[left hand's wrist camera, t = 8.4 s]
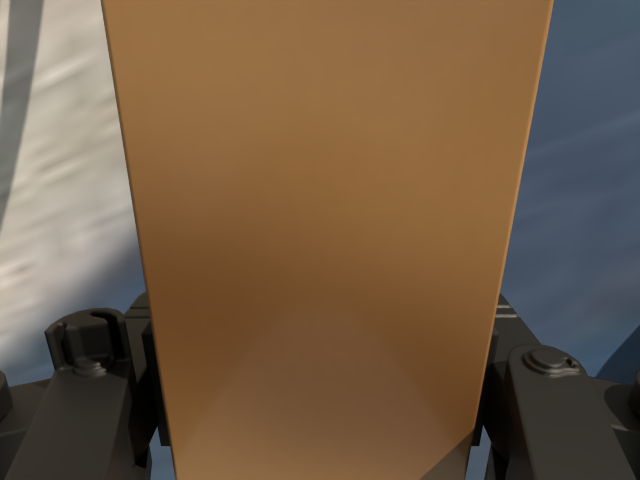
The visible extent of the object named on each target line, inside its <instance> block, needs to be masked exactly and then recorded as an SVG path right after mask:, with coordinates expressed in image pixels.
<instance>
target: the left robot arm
mask: <svg viewBox="0 0 640 480" xmlns="http://www.w3.org/2000/svg"><path fill="white" fill-rule="evenodd" d="M44 333H45V336H46V340H47V344H48V347H49V351H50V354H51V358H52V362H53V365H54V369H55V371H54V374H53V376H52V378H50V379H46V380H42V381H37V382H32V383H27V384H22V385H17V386H12V387H9V386H8V383H7V380H6V377H5V374H4V373H3V372H1V371H0V480H150V477H151V468H152V458H151V452H150V447H149V443H150V441H151V439H152V436H153V434H154V432H155V430H156V428H157V426H158V432H159V437H160V443H161V446H170V441H169V435H168V428H167V422H166V415H165V409H164V403H163V396H162V390H161V383H160V377H159V371H158V364H157V358H156V351H155V345H154V339H153V332H152V326H151V319H150V313H149V307H148V300H147V294H146V292H144V293H143V294H141V295H140V296H138V298H137V299H136V300H135V301H134V303H133V304H132V305H131V306H130V309H128V310H127V312H126V313H125V314H122V313H121V312H120V311H118V310H115V309H110V308H92V309H87V310H83V311H78V312H75V313H73V314H70V315H67V316H65V317H63V318H61V319H59V320H58V321H56V322H54V323H53V324H51V325H50V326H49V328H48V329H47V330H46V331H45V332H44ZM483 425H484V427H485V429H486V431H487V434H488V436H489V438H490V440H491V447H490V452H489V457H488V463H487V468H486V473H485V478H484V480H640V370H638V371H637V372H636V375H635V378H634V381H633V384H632V385H628V384H623V383H618V382H613V381H608V380H603V379H598V378H594V377H590V376H588V375H587V373H586V371H585V369H584V368H583V367H582V365H581V364H580V363H579V361H577V360H576V359H575V358H573V357H572V356H570V355H569V354H567V353H565V352H563V351H561V350H558V349H556V348H554V347H550V346H546V345H541V343H540V342H539V341H538V340H537V338H536V337H535V336H534V335H533V333H532V332H531V331H530V329H529V328H528V327H527V326H526V324H525V323H524V322H523V321H522V319H521V318H520V317H518V314H517V313H516V312H515V311H514V309H513V308H511V306H510V304H509V303H508V302H507V301H506V299H505V298H504V297H503V296H502V294H500V293H499V298H498V304H497V309H496V315H495V320H494V325H493V331H492V336H491V342H490V347H489V352H488V358H487V363H486V368H485V374H484V379H483V385H482V390H481V395H480V401H479V406H478V412H477V417H476V422H475V428H474V433H473V439H472V444H471V446H479V444H480V439H481V433H482V428H483Z"/></svg>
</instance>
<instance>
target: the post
mask: <svg viewBox="0 0 640 480" xmlns="http://www.w3.org/2000/svg"><path fill="white" fill-rule="evenodd" d="M553 2H554V0H101V6H102V12H103V19H104V25H105V31H106V38H107V44H108V51H109V57H110V63H111V70H112V76H113V83H114V89H115V95H116V102H117V108H118V115H119V121H120V127H121V134H122V140H123V147H124V153H125V159H126V166H127V172H128V179H129V185H130V191H131V198H132V204H133V211H134V217H135V223H136V230H137V236H138V243H139V249H140V255H141V262H142V268H143V275H144V281H145V287H146V294H147V300H148V307H149V313H150V319H151V326H152V332H153V339H154V345H155V351H156V358H157V364H158V371H159V377H160V383H161V390H162V396H163V403H164V409H165V415H166V422H167V428H168V435H169V441H170V447H171V454H172V460H173V467H174V473H175V479H176V480H465V476H466V471H467V466H468V460H469V455H470V449H471V444H472V439H473V433H474V428H475V422H476V417H477V412H478V406H479V401H480V395H481V390H482V385H483V379H484V374H485V368H486V363H487V358H488V352H489V347H490V342H491V336H492V331H493V325H494V320H495V315H496V309H497V304H498V298H499V293H500V288H501V282H502V277H503V271H504V266H505V261H506V255H507V250H508V245H509V239H510V234H511V228H512V223H513V218H514V212H515V207H516V201H517V196H518V191H519V185H520V180H521V174H522V169H523V164H524V158H525V153H526V147H527V142H528V137H529V131H530V126H531V121H532V115H533V110H534V104H535V99H536V94H537V88H538V83H539V77H540V72H541V67H542V61H543V56H544V50H545V45H546V40H547V34H548V29H549V23H550V18H551V13H552V7H553Z"/></svg>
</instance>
